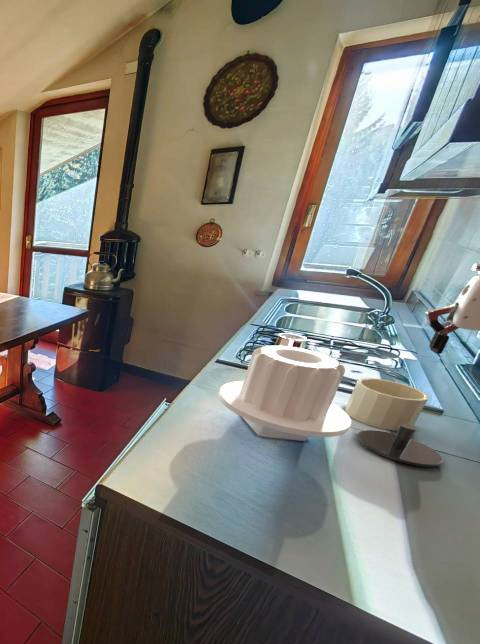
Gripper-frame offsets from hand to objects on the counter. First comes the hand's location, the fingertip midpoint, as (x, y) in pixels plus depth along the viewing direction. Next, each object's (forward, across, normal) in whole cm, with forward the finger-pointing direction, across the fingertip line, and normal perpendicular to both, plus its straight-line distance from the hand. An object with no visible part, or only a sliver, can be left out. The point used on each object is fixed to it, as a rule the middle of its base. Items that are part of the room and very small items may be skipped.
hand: (468, 355), depth 80 cm
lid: (+21, -6, -6) cm, 23 cm away
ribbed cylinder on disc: (+21, -29, -9) cm, 37 cm away
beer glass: (+22, -25, +23) cm, 40 cm away
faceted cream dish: (+22, -5, +11) cm, 25 cm away
